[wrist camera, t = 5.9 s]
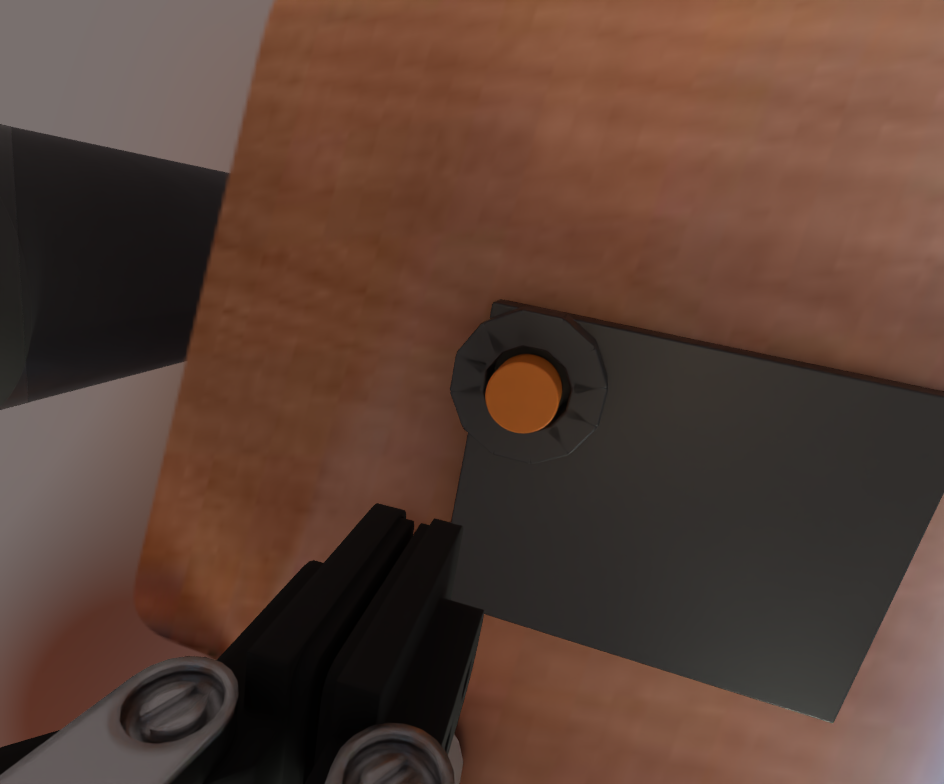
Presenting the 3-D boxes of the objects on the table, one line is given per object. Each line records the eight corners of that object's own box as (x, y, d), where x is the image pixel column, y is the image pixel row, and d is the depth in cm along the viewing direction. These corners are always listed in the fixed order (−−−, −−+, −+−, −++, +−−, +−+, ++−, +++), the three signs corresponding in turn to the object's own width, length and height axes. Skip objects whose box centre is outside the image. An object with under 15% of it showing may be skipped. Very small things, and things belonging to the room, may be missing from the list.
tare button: (488, 411, 19) (478, 423, 18) (500, 346, 19) (492, 354, 17) (553, 427, 19) (549, 442, 17) (569, 362, 18) (566, 371, 17)
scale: (431, 576, 25) (409, 618, 22) (483, 291, 21) (465, 297, 18) (820, 696, 22) (852, 762, 19) (961, 390, 18) (1027, 415, 15)
